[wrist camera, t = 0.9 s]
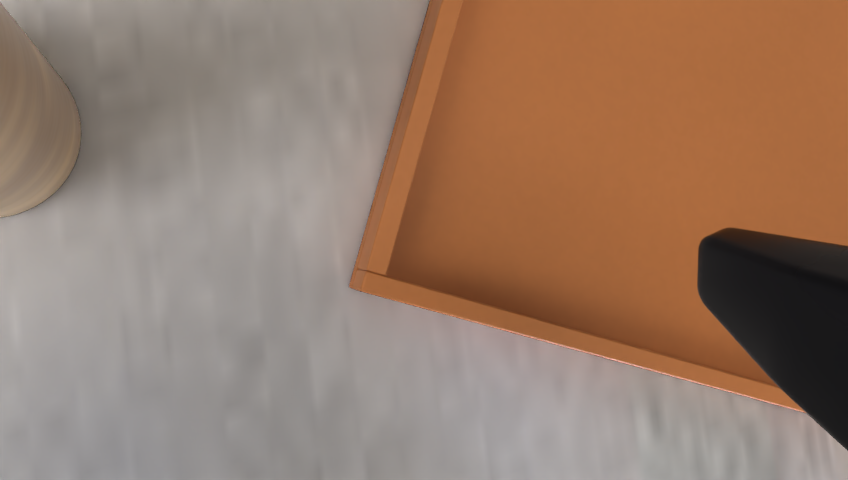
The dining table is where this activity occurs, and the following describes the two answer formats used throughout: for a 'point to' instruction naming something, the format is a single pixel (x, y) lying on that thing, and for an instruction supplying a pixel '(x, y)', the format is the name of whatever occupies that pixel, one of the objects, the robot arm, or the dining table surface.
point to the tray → (609, 168)
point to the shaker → (32, 123)
